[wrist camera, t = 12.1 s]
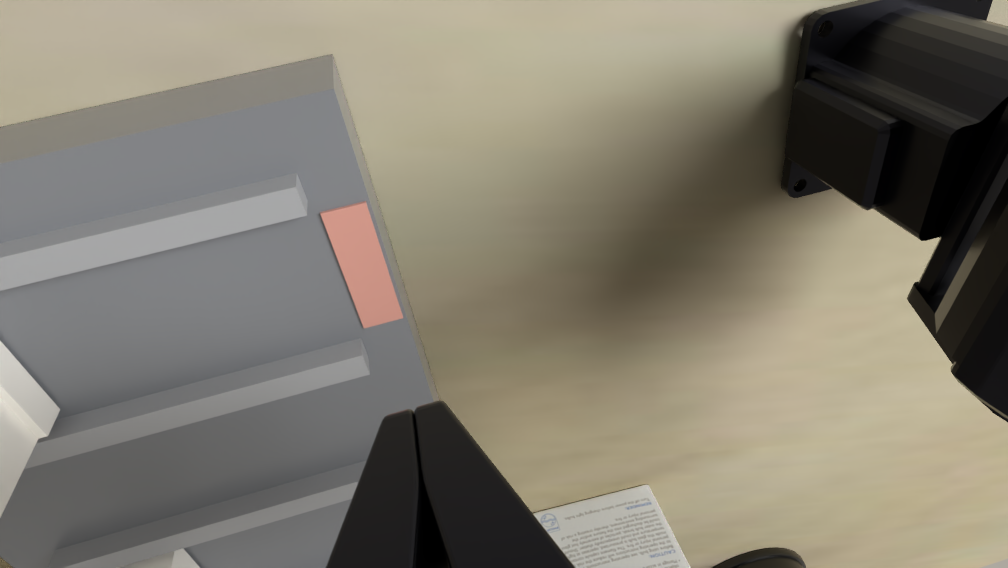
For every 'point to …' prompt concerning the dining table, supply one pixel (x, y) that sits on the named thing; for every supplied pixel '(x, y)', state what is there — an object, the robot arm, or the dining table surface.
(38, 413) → the white block
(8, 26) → the dining table surface
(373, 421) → the breaker panel
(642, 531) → the light bulb box
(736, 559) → the french press
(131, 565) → the tall cream cuboid
